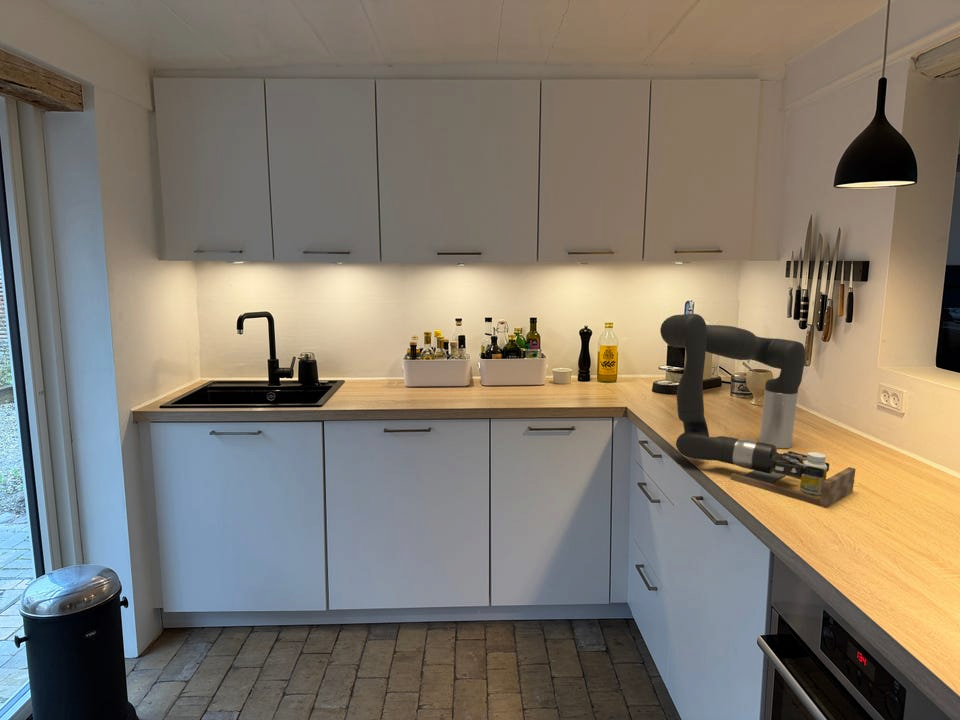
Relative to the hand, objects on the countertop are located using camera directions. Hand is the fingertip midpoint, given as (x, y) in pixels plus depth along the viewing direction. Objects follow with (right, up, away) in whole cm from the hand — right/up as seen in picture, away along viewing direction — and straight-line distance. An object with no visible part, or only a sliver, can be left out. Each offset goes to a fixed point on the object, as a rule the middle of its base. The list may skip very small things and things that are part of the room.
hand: (826, 470), depth 153 cm
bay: (-6, -5, +7) cm, 10 cm away
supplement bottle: (-2, -6, +3) cm, 7 cm away
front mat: (-10, -4, +12) cm, 16 cm away
